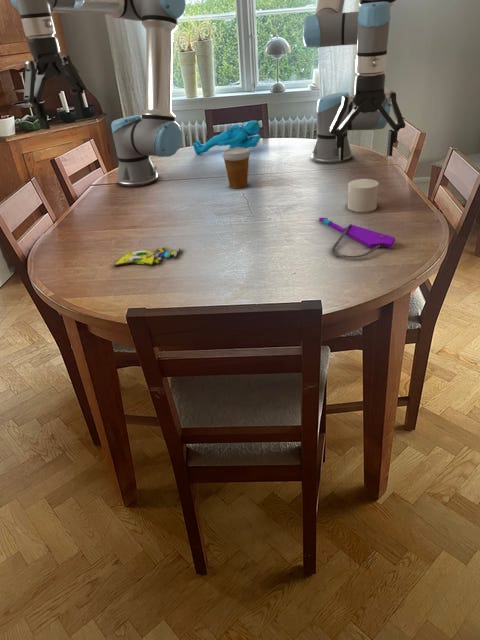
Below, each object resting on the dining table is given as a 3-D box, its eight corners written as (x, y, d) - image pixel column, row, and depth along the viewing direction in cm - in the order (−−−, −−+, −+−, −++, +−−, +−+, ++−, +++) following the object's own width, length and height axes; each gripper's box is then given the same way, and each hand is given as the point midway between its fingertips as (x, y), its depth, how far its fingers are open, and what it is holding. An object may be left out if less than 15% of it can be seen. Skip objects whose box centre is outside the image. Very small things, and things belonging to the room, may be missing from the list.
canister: (380, 210, 140) (382, 186, 136) (351, 213, 140) (353, 189, 136) (371, 201, 147) (373, 177, 143) (344, 203, 147) (345, 180, 143)
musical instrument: (379, 268, 112) (405, 226, 124) (378, 260, 110) (405, 219, 123) (287, 256, 124) (320, 220, 137) (286, 249, 123) (319, 213, 135)
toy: (198, 134, 217) (260, 114, 207) (206, 157, 223) (267, 139, 212) (187, 143, 204) (253, 123, 194) (196, 168, 209) (261, 149, 199)
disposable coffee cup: (220, 189, 168) (217, 154, 161) (231, 180, 175) (228, 146, 168) (246, 190, 164) (243, 154, 158) (255, 181, 171) (253, 147, 165)
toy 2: (171, 262, 119) (113, 263, 121) (171, 266, 119) (114, 266, 121) (180, 245, 127) (126, 246, 129) (180, 248, 128) (127, 249, 130)
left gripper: (11, 40, 114) (38, 134, 126) (86, 32, 132) (104, 114, 143) (-9, 42, 118) (19, 133, 129) (67, 34, 135) (86, 114, 147)
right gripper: (324, 80, 121) (322, 164, 133) (423, 71, 120) (413, 156, 132) (319, 76, 127) (319, 157, 139) (414, 67, 126) (405, 149, 138)
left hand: (64, 123), depth 136 cm, fingers open, 13 cm apart
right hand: (365, 157), depth 136 cm, fingers open, 13 cm apart
